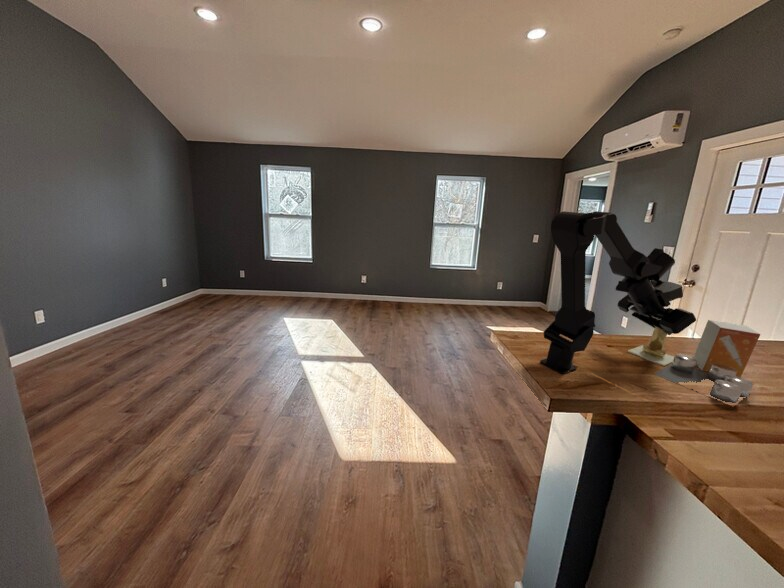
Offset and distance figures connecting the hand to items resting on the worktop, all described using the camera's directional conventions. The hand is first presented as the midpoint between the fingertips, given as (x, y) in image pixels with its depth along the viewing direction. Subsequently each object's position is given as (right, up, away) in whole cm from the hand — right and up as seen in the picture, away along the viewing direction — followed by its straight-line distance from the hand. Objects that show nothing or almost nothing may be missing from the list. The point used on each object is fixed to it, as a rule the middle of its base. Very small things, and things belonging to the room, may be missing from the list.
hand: (665, 331), depth 90 cm
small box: (+11, -10, -3) cm, 15 cm away
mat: (0, -12, -10) cm, 16 cm away
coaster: (-2, -8, +2) cm, 8 cm away
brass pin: (-2, -6, +2) cm, 7 cm away
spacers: (0, -11, -11) cm, 15 cm away
